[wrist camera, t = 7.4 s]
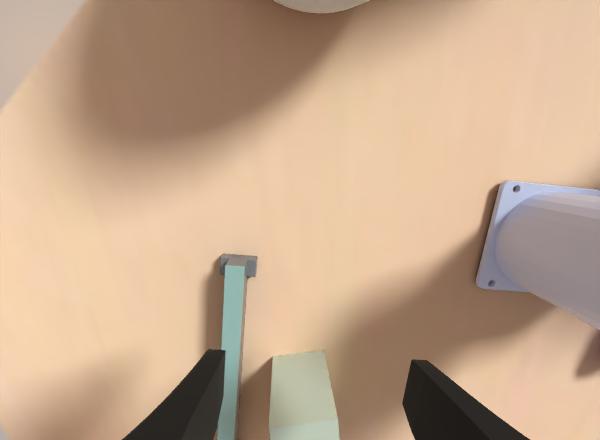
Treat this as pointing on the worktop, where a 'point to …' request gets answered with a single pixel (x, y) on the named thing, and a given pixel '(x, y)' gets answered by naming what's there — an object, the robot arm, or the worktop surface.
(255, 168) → the worktop surface
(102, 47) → the worktop surface
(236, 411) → the rail
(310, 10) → the decorative egg
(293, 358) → the soap box
